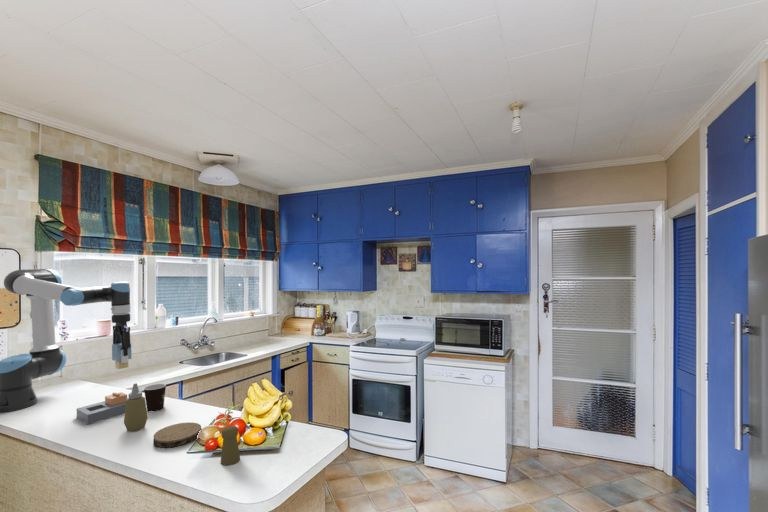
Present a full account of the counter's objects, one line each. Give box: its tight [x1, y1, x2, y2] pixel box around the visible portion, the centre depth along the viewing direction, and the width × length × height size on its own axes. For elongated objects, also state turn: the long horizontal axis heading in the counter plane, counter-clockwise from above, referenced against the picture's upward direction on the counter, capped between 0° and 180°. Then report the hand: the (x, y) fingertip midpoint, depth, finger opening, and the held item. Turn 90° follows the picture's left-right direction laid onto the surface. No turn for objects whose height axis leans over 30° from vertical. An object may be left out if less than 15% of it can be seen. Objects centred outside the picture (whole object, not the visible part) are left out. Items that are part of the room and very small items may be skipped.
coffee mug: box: [143, 383, 167, 412], centre depth 178 cm, size 12×9×10 cm
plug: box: [111, 342, 132, 370], centre depth 189 cm, size 6×6×12 cm
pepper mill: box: [220, 425, 241, 467], centre depth 128 cm, size 6×6×11 cm
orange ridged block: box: [104, 391, 128, 406], centre depth 175 cm, size 6×6×4 cm
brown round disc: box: [153, 422, 202, 450], centre depth 146 cm, size 16×16×3 cm
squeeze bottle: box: [123, 382, 148, 433], centre depth 155 cm, size 8×8×18 cm
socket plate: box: [76, 397, 129, 425], centre depth 172 cm, size 18×13×4 cm
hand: (121, 361), depth 189 cm, fingers closed on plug, 6 cm apart
